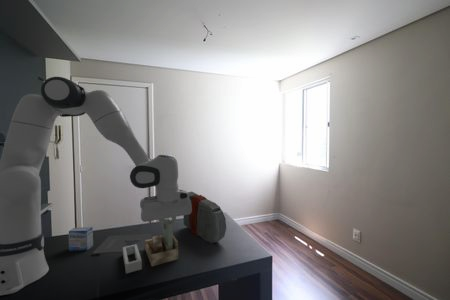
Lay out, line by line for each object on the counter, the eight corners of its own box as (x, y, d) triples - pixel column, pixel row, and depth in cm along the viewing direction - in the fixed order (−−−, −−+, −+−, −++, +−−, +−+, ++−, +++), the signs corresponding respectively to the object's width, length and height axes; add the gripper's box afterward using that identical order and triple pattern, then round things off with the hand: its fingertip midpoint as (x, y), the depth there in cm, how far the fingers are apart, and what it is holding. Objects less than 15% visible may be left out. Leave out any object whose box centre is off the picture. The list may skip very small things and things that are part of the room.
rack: (151, 268, 80) (151, 247, 79) (145, 251, 92) (144, 233, 91) (178, 260, 84) (177, 241, 84) (168, 245, 97) (168, 228, 96)
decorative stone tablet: (182, 191, 113) (217, 210, 91) (192, 189, 118) (229, 207, 95) (181, 226, 116) (215, 253, 93) (191, 223, 120) (227, 248, 97)
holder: (126, 275, 75) (125, 264, 75) (123, 256, 88) (122, 247, 87) (141, 271, 78) (141, 260, 78) (136, 253, 90) (136, 244, 90)
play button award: (109, 235, 105) (151, 233, 107) (109, 238, 105) (151, 236, 107) (92, 253, 89) (142, 250, 91) (92, 256, 89) (142, 254, 91)
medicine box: (68, 251, 93) (67, 231, 92) (75, 246, 97) (74, 227, 97) (87, 250, 93) (87, 230, 93) (93, 245, 97) (92, 226, 97)
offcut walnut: (155, 255, 83) (155, 249, 83) (150, 247, 89) (150, 242, 89) (163, 252, 85) (163, 247, 85) (158, 245, 91) (158, 240, 91)
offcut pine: (153, 248, 84) (153, 242, 84) (152, 241, 89) (152, 236, 89) (161, 246, 85) (161, 241, 85) (159, 240, 91) (159, 235, 90)
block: (168, 254, 84) (168, 224, 84) (162, 244, 93) (162, 216, 93) (172, 253, 85) (172, 223, 85) (166, 243, 94) (166, 216, 93)
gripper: (141, 199, 81) (141, 236, 81) (193, 193, 90) (193, 226, 91) (138, 195, 86) (139, 230, 87) (188, 190, 96) (188, 221, 96)
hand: (167, 228), depth 89 cm, fingers closed on block, 2 cm apart
